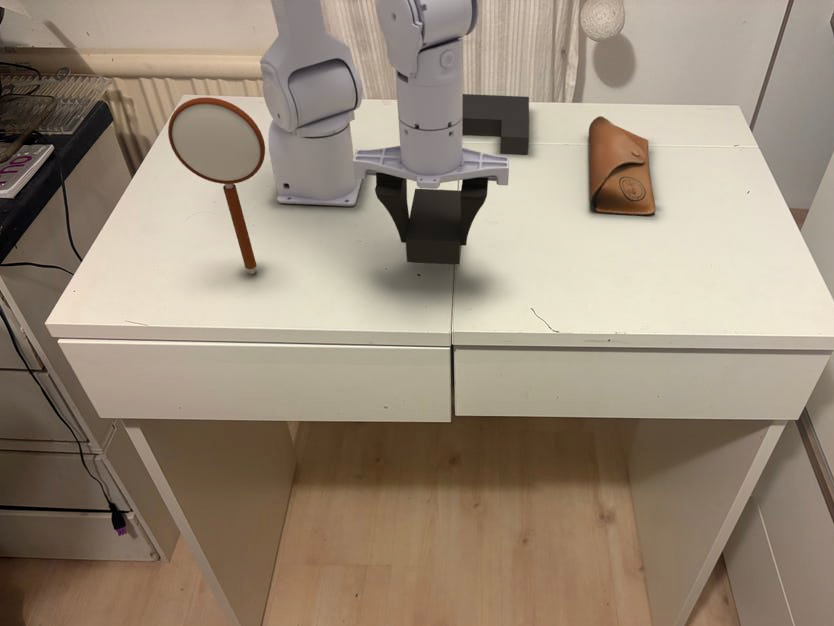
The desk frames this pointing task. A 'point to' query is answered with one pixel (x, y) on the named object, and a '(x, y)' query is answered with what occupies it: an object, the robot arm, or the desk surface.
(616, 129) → the sunglasses case
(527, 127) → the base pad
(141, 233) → the desk surface
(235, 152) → the magnifying glass
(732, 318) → the desk surface
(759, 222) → the desk surface
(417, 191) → the black rectangular block
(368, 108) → the desk surface
